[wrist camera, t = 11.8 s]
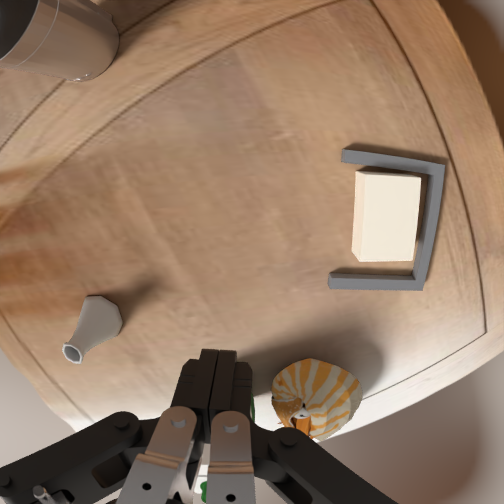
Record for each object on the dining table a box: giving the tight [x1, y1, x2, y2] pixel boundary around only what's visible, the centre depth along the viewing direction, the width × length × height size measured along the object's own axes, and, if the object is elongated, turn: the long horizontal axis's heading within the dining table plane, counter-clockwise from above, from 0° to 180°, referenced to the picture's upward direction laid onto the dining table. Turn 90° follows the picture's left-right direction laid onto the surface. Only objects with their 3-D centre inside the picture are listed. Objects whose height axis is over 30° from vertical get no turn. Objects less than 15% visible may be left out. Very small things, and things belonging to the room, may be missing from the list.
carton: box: [352, 171, 421, 262], centre depth 35 cm, size 10×7×4 cm
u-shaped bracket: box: [328, 149, 445, 291], centre depth 37 cm, size 17×14×2 cm
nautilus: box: [271, 358, 362, 442], centre depth 44 cm, size 8×22×15 cm
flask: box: [62, 296, 123, 364], centre depth 39 cm, size 7×7×10 cm
